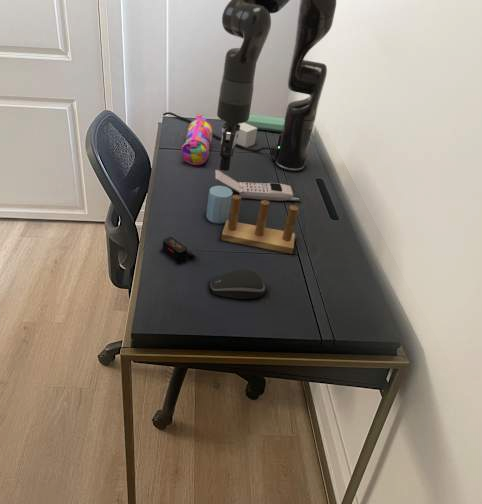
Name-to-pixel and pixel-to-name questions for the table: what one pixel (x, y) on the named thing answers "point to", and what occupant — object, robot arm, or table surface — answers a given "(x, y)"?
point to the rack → (260, 229)
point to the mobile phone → (258, 189)
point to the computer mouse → (238, 285)
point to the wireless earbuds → (176, 250)
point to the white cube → (246, 135)
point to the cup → (219, 204)
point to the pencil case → (197, 141)
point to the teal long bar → (266, 123)
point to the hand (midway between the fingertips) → (226, 162)
